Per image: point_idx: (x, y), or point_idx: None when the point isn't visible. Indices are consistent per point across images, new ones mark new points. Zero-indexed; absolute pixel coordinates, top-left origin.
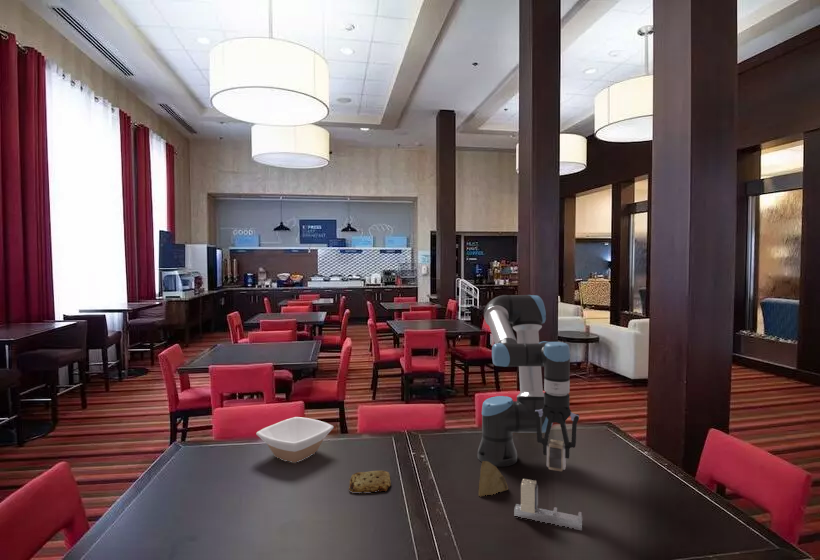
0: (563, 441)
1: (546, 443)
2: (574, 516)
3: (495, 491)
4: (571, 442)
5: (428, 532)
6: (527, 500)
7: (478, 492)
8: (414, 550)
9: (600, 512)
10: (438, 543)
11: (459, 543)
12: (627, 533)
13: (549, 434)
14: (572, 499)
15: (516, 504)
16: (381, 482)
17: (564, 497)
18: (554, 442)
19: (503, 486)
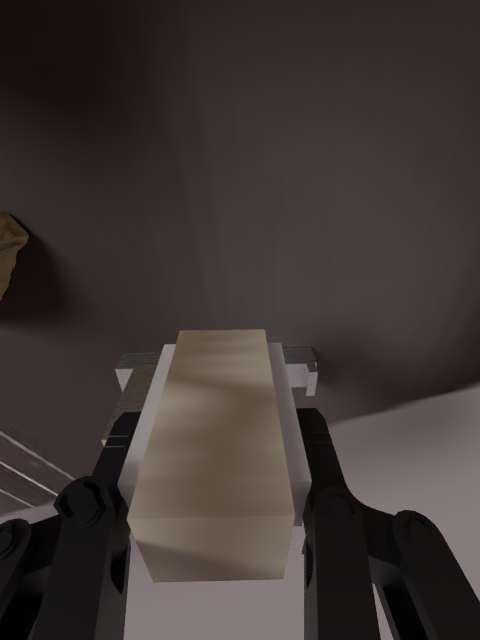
0: (292, 519)
1: (123, 557)
2: (294, 370)
3: (1, 284)
4: (388, 619)
5: (4, 470)
6: None
7: None
8: (25, 504)
9: (380, 259)
10: (45, 484)
11: (77, 475)
12: (429, 340)
13: (94, 638)
14: (286, 201)
15: (118, 372)
16: None
17: (253, 196)
18: (196, 556)
19: (4, 252)
